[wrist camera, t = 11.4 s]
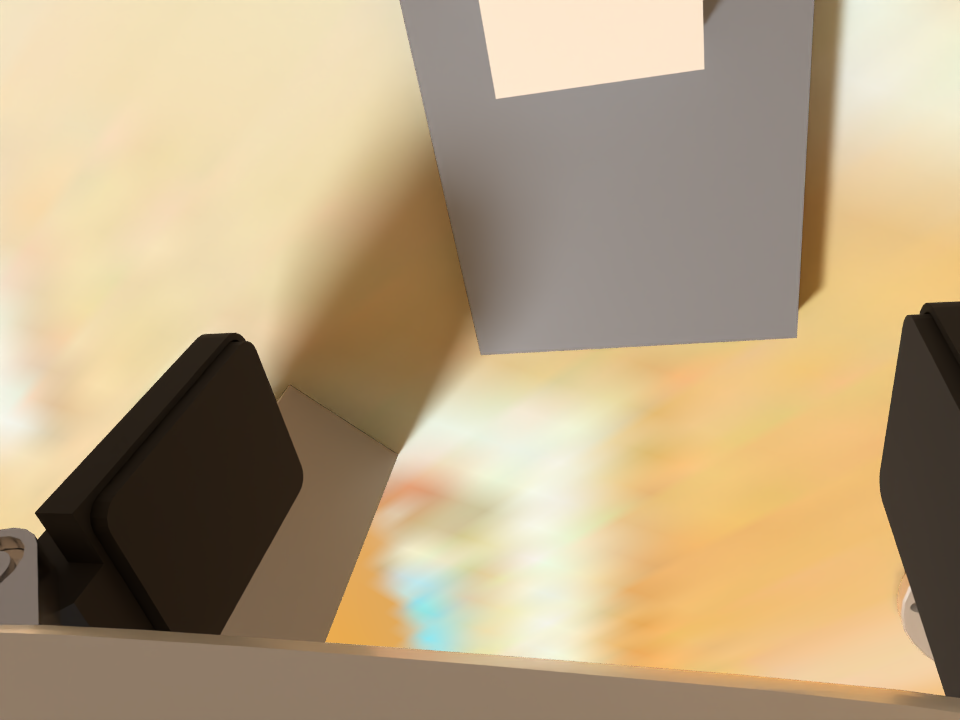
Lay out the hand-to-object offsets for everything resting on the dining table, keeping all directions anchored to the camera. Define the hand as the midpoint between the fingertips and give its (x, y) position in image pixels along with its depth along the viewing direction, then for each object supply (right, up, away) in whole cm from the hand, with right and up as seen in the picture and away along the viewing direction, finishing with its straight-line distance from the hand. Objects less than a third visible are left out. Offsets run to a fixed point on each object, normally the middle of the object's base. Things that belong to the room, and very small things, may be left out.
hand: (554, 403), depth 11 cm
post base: (+4, +10, +16) cm, 20 cm away
